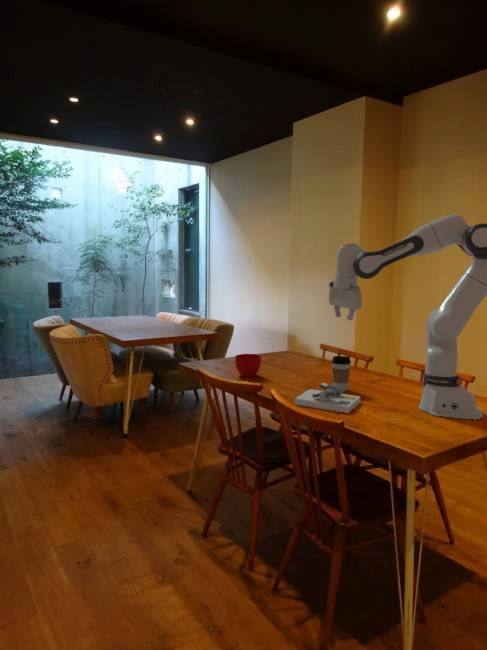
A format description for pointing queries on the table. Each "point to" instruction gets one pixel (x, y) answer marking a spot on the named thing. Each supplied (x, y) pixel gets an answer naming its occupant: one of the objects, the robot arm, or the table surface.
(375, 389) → the table surface
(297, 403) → the switch unit
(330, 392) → the rocker front
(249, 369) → the ceramic cup
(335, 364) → the coffee cup
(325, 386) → the rocker back
